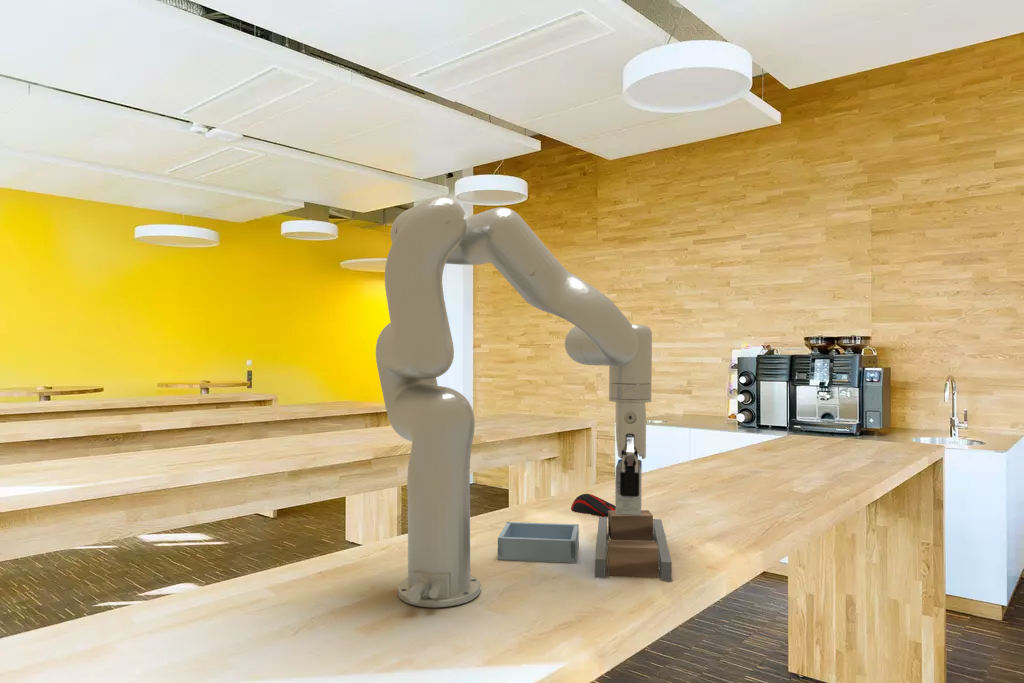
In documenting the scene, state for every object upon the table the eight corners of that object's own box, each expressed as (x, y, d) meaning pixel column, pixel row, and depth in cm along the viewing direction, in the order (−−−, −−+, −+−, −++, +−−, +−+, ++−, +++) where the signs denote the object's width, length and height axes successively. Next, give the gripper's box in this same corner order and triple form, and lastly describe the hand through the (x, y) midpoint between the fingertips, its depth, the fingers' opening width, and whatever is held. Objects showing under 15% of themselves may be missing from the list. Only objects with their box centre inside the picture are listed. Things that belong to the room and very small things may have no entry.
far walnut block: (653, 541, 132) (652, 515, 131) (611, 541, 131) (611, 515, 131) (648, 535, 136) (648, 510, 135) (608, 535, 135) (608, 510, 135)
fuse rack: (671, 581, 110) (671, 562, 110) (595, 577, 112) (594, 559, 112) (661, 534, 136) (661, 519, 136) (599, 532, 137) (599, 517, 137)
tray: (575, 562, 119) (575, 541, 119) (497, 559, 121) (497, 537, 121) (578, 544, 129) (578, 524, 129) (507, 541, 131) (507, 521, 131)
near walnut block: (658, 579, 111) (658, 548, 111) (608, 577, 112) (608, 546, 112) (656, 570, 115) (656, 540, 115) (608, 568, 116) (607, 539, 116)
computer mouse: (607, 519, 148) (607, 501, 148) (565, 511, 155) (565, 494, 155) (622, 514, 153) (622, 496, 153) (581, 506, 160) (581, 489, 160)
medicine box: (640, 516, 119) (641, 466, 119) (614, 515, 120) (615, 465, 120) (641, 506, 127) (642, 459, 127) (617, 504, 128) (617, 458, 128)
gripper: (653, 397, 114) (652, 502, 114) (649, 390, 131) (648, 481, 131) (608, 396, 115) (607, 500, 115) (609, 389, 132) (608, 480, 132)
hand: (628, 490), depth 123 cm, fingers closed on medicine box, 8 cm apart
